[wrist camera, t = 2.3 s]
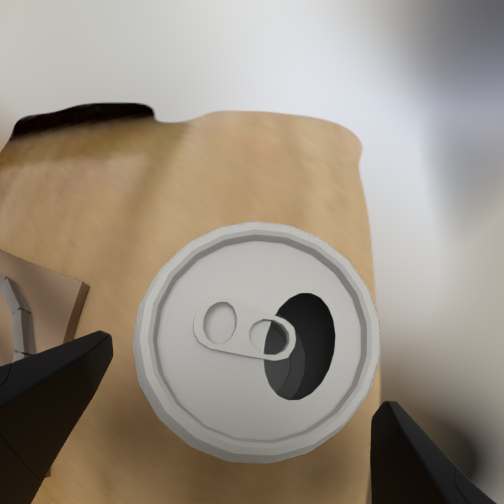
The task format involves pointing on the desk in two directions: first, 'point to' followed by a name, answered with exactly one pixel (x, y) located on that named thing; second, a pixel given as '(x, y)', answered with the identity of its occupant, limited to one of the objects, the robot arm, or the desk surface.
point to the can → (256, 342)
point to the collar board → (35, 308)
